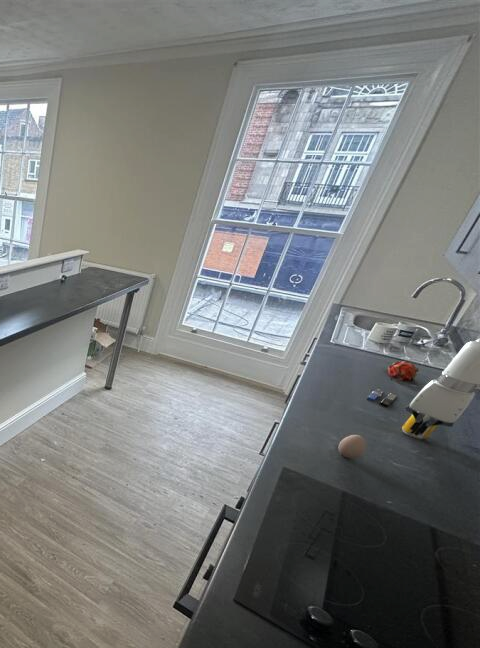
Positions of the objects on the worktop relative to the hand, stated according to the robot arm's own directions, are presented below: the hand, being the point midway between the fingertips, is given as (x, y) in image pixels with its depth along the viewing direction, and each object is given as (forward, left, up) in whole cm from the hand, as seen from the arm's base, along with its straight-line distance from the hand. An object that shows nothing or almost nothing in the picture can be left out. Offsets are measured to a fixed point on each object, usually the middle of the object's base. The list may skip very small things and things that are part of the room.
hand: (414, 433), depth 125 cm
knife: (+23, -20, -3) cm, 31 cm away
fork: (+27, -18, -3) cm, 32 cm away
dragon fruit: (+40, -43, -3) cm, 59 cm away
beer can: (+3, -5, -3) cm, 6 cm away
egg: (-8, +32, -3) cm, 33 cm away
